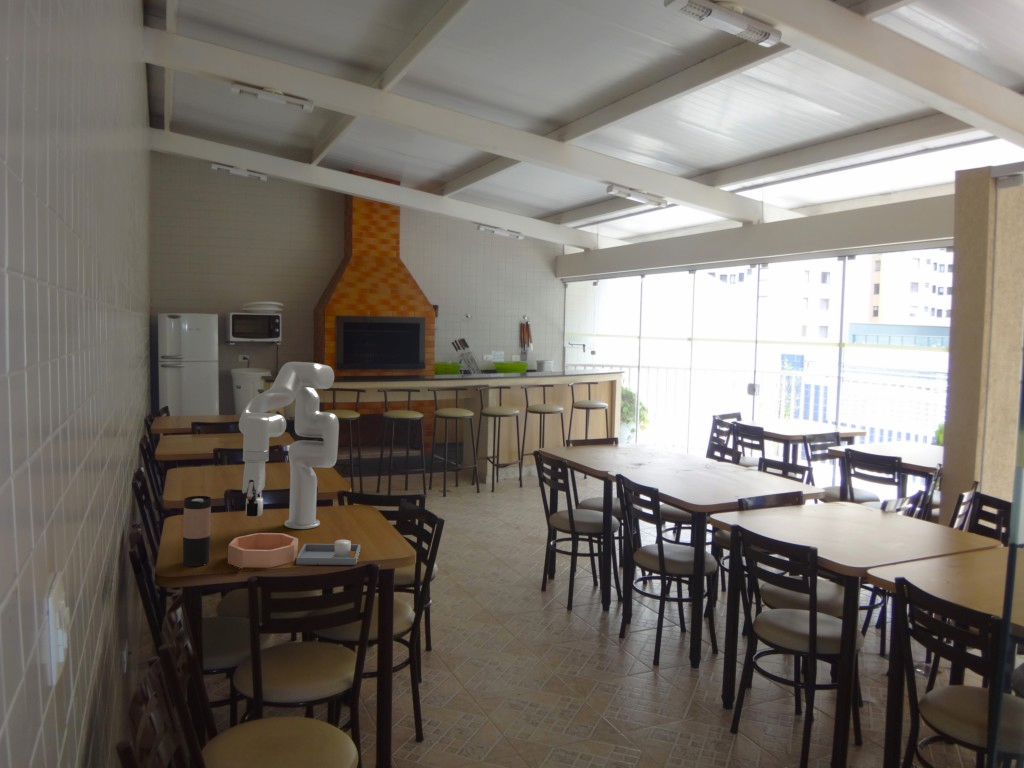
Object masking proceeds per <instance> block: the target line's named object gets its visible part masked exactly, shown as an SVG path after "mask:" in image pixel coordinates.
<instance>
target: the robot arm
mask: <svg viewBox="0 0 1024 768" xmlns="http://www.w3.org/2000/svg"><path fill="white" fill-rule="evenodd" d="M334 381H335V371H334V370H333V368H332V367H331V366H329V365H326V364H321V363H318V362H306V361H304V362H303V361H288V362H286V363H284V364H283V365H282V366H281V368H280V370H279V372H278V374H277V375H276V378H275V380H274V381H273V383H272V386H271V387H270V389H267V390H265V391H263V392H262V393H260V394H258V395H257V396H255V397H253V398H252V399H251V400H249V402H247V404H246V406H245V407H244V409H243V411H242V413H241V416H240V418H239V421H238V429H239V431H240V433H241V434H243V444H242V445H243V447H242V461H243V462H244V469H243V477H242V489H241V491H242V492H241V493H242V494H243V495H245V494H246V498H247V514H246V513H245V516H246V515H247V517H251V516H255V517H258V516H257V515H258V503H257V497H262V498H263V490H264V488H265V484H266V462H269V460H270V459H269V458H270V457H269V456H270V438H278V437H281V436H282V435H283V434H284V433H285V431H286V429H287V420H286V418H285V416H283V415H281V414H278V413H268V412H269V411H274V410H278V409H281V408H285V407H287V406H289V405H292V404H293V402H294V401H295V407H294V408H295V411H294V431H295V432H294V433H295V434H296V435H297V436H299V437H303V438H304V437H306V438H319V439H320V438H321V439H323V441H318V440H308V439H307V440H306V439H305V440H304V439H302V440H296V441H294V442H292V443H291V444H290V445H289V447H288V460H289V470H290V483H289V514H288V515H289V517H288V519H287V520H285V521H284V526H285V527H286V528H289V529H294V530H309V529H314V528H317V527H319V526H320V525H321V521H320V520H319V519H317V518H316V517H317V496H318V495H317V493H318V492H317V489H318V487H317V486H318V478H317V474H316V472H315V470H314V469H313V468H326V469H330V468H333V467H334V466H335V465H336V463H337V460H338V449H339V433H340V432H339V431H340V422H339V418H338V416H337V415H336V414H335V413H333V412H326V411H320V403H321V402H320V395H319V394H318V392H317V389H320V390H321V389H322V390H327V389H330V388H331V387H332V386H333V385H334Z"/></svg>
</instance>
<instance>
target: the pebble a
mask: <svg viewBox="0 0 1024 768" xmlns="http://www.w3.org/2000/svg"><path fill="white" fill-rule="evenodd" d="M257 503H258V515H257V516H250V517H252V518H253V517H260V516H261V517H262V516H263V515H264V509H263V508H264V497H263V496H262V497H257ZM246 514H247V497H246V499H245V516H247V515H246ZM247 517H248V516H247Z"/></svg>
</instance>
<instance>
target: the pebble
mask: <svg viewBox="0 0 1024 768" xmlns="http://www.w3.org/2000/svg"><path fill="white" fill-rule="evenodd" d="M351 541H352V540H349V539H337V540H335V541H334V544H335V548H334V558H350V551H351V544H352V542H351Z"/></svg>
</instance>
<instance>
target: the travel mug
mask: <svg viewBox="0 0 1024 768" xmlns="http://www.w3.org/2000/svg"><path fill="white" fill-rule="evenodd" d="M211 504H212V499H211V497H210V496H207V495H192V496H187V497H185V498H184V499H183V525H182V549H183V550H182V553H183V554H182V557H183V559H182V561H183V562H182V564H183V565H184V566H185V565H186V566H185V567H188V566H199V567H202V566H201V565H204V564H206V565H208V564H209V563H208V562H210V552H211V551H210V549H211V547H210V546H211V528H212V527H211V526H212V525H211V515H212V513H211V512H212V511H211V510H212V505H211ZM207 563H208V564H207ZM204 566H205V565H204Z"/></svg>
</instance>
